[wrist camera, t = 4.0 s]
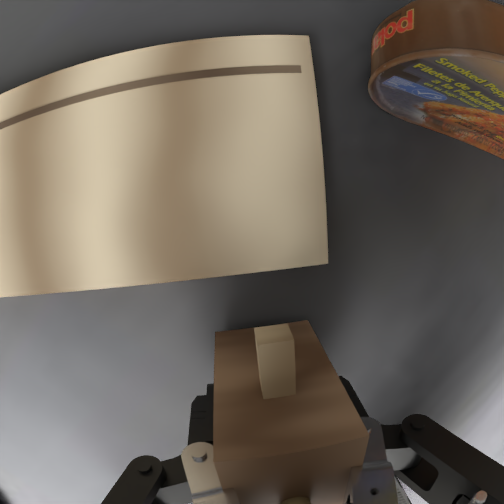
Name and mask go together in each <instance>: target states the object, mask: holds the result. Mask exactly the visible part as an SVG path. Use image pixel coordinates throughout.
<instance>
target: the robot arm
mask: <svg viewBox="0 0 504 504" xmlns="http://www.w3.org/2000/svg"><path fill="white" fill-rule="evenodd" d="M338 377H339V379H340V380H341V382H342V384H343V386H344V388H345V390H346V392H347V394H348V395H349V397H350V399H351V401H352V403H353V405H354V407H355V409H356V410H357V412H358V414H359V416H360V418H361V420H362V422H363V424H364V426H365V427H366V429H367V431H368V433H369V440H368V444H367V449H366V453H365V457H364V461H363V465H360V466H354V467H351V470H350V474H349V479H348V483H347V487H346V491H345V495H344V499H343V503H342V504H398V498H397V491H396V484H395V477H394V475H395V476H397V477H398V478H399V479H400V480H401V481H403V482H404V483H405V484H406V485H407V486H408V487H410V488H411V489H412V490H413V491H414V492H416V493H417V494H418V495H419V496H421V497H422V498H423V499H424V500H425V501H427V502H428V503H429V504H504V466H502V465H501V464H499V463H498V462H496V461H494V460H493V459H491V458H490V457H488V456H487V455H485V454H483V453H482V452H480V451H479V450H477V449H476V448H474V447H473V446H471V445H469V444H468V443H466V442H465V441H463V440H462V439H460V438H459V437H457V436H456V435H454V434H453V433H451V432H450V431H448V430H447V429H445V428H444V427H442V426H441V425H439V424H438V423H436V422H435V421H433V420H432V419H430V418H429V417H427V416H425V415H421V414H414V415H410V416H408V417H406V418H405V419H404V420H403V421H402V424H399V425H382V424H380V423H379V422H378V421H377V420H376V419H374V418H371V417H369V416H368V414H367V412H366V411H365V409H364V407H363V405H362V403H361V402H360V400H359V398H358V396H357V395H356V393H355V391H354V390H353V388H352V386H351V384H350V382H349V381H348V380H346V379H345V378H343V377H342V376H338ZM213 410H214V384H207V395H202V396H197V397H196V398H195V400H194V401H193V402H192V405H191V416H190V426H189V437H188V446H187V447H186V448H185V449H184V450H183V451H182V454H181V455H179V456H178V457H176V458H173V459H169V460H165V461H161V462H160V460H159V459H157V458H156V457H153V456H147V455H146V456H140V457H137V458H135V459H134V460H132V461H131V462H130V464H129V465H128V466H127V468H126V469H125V471H124V472H123V474H122V475H121V476H120V478H119V479H118V481H117V482H116V483H115V485H114V486H113V488H112V489H111V490H110V492H109V493H108V495H107V496H106V497H105V499H104V500H103V502H102V503H101V504H188V503H191V502H193V504H241V502H240V500H239V498H238V496H237V494H236V492H235V489H234V488H227V489H222V487H221V484H220V481H219V478H218V475H217V472H216V469H215V466H214V463H213Z"/></svg>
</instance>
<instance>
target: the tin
mask: <svg viewBox="0 0 504 504" xmlns="http://www.w3.org/2000/svg"><path fill="white" fill-rule="evenodd" d="M368 92H369V95H370V97H371V98H372V100H373V101H374V102H375V103H376V104H377V105H378V106H379V107H380V108H381V109H383V110H384V111H386V112H388V113H390V114H391V115H393V116H396V117H398V118H400V119H403V120H405V121H407V122H410V123H413V124H416V125H419V126H422V127H425V128H428V129H431V130H433V131H436V132H439V133H442V134H445V135H447V136H450V137H453V138H455V139H458V140H460V141H463V142H465V143H468V144H470V145H473V146H475V147H477V148H479V149H482V150H484V151H486V152H489V153H491V154H493V155H495V156H498V157H500V158H502V159H504V6H503V5H501V4H498V3H495V2H492V1H488V0H416V1H413V2H411V3H409V4H408V5H406V6H404V7H403V8H401V9H399V10H398V11H396V12H394V13H393V14H391V15H390V16H388V17H387V18H386V19H385V20H384V21H383V22H382V23H381V24H380V25H379V26H378V27H377V29H376V30H375V32H374V34H373V37H372V44H371V77H370V79H369V82H368Z"/></svg>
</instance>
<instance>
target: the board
mask: <svg viewBox="0 0 504 504" xmlns="http://www.w3.org/2000/svg"><path fill="white" fill-rule="evenodd" d="M321 264H328V239H327V214H326V195H325V179H324V165H323V152H322V140H321V130H320V119H319V110H318V101H317V92H316V84H315V76H314V68H313V61H312V54H311V47H310V41H309V36H305V35H249V36H231V37H218V38H207V39H198V40H190V41H182V42H175V43H169V44H163V45H157V46H151V47H146V48H141V49H136V50H132V51H127V52H123V53H119V54H114V55H110V56H106V57H103V58H99V59H95V60H92V61H88V62H85V63H82V64H78V65H75V66H72V67H69V68H66V69H63V70H60V71H57V72H54V73H51V74H49V75H46V76H43V77H41V78H38V79H35V80H33V81H30V82H28V83H25V84H23V85H21V86H18V87H16V88H14V89H11V90H9V91H7V92H5V93H3V94H1V95H0V297H10V296H23V295H36V294H48V293H60V292H72V291H83V290H94V289H105V288H115V287H126V286H136V285H146V284H156V283H166V282H175V281H185V280H194V279H203V278H212V277H221V276H230V275H239V274H247V273H256V272H264V271H273V270H281V269H289V268H297V267H305V266H313V265H321Z"/></svg>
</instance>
